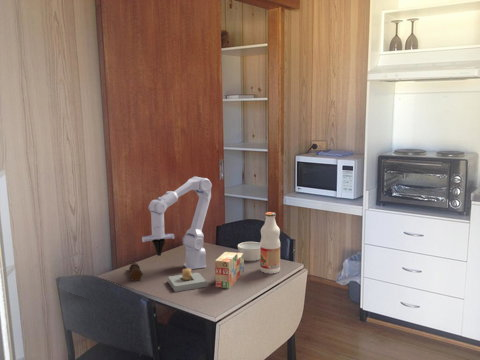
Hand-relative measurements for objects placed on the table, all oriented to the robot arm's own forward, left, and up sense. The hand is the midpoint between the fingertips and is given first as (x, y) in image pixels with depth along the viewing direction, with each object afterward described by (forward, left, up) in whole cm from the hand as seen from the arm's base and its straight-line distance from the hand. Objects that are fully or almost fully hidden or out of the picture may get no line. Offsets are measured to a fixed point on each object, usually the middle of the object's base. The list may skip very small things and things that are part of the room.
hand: (158, 255), depth 199 cm
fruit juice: (-50, +14, -10) cm, 53 cm away
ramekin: (-49, -7, -10) cm, 51 cm away
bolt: (+10, -6, -10) cm, 16 cm away
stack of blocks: (-29, +17, -10) cm, 35 cm away
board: (-9, +15, -10) cm, 20 cm away
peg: (-9, +15, -10) cm, 20 cm away
